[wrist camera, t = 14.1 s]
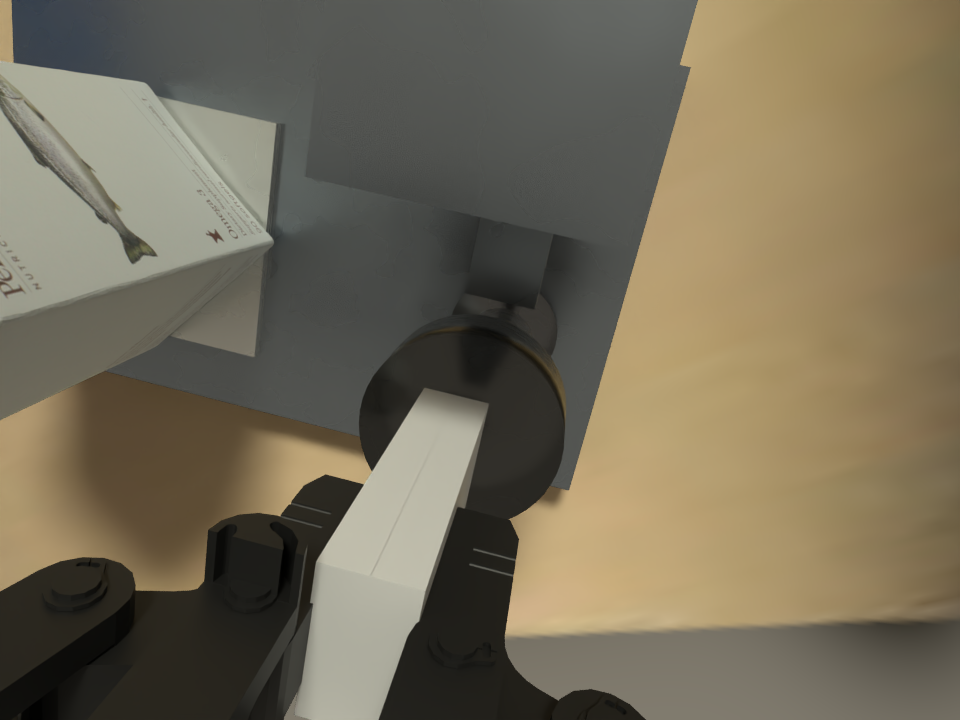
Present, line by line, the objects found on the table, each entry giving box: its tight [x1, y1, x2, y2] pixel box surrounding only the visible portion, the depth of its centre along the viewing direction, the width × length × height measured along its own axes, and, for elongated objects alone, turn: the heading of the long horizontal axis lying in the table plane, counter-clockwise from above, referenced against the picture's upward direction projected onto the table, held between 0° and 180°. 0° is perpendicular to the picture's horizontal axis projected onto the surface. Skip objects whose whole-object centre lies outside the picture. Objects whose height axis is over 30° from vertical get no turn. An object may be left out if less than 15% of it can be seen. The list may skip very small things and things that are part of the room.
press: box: [12, 0, 698, 490], centre depth 18 cm, size 24×16×18 cm, turn 78°
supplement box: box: [0, 61, 274, 420], centre depth 19 cm, size 7×7×13 cm
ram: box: [359, 308, 566, 520], centre depth 20 cm, size 5×5×8 cm
